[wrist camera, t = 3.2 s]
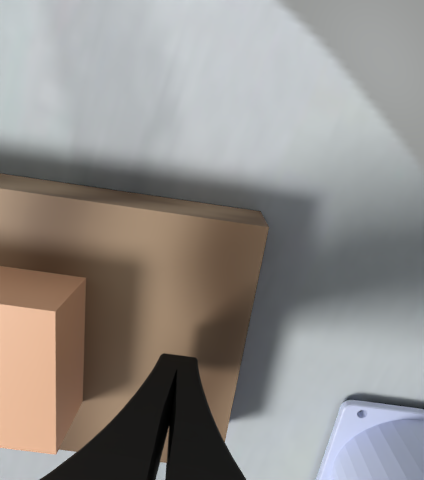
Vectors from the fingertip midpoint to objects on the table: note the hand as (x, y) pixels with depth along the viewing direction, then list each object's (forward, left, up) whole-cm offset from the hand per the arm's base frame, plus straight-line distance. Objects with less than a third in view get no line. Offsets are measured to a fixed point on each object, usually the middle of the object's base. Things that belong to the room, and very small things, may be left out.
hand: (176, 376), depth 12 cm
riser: (+5, 0, -4) cm, 6 cm away
